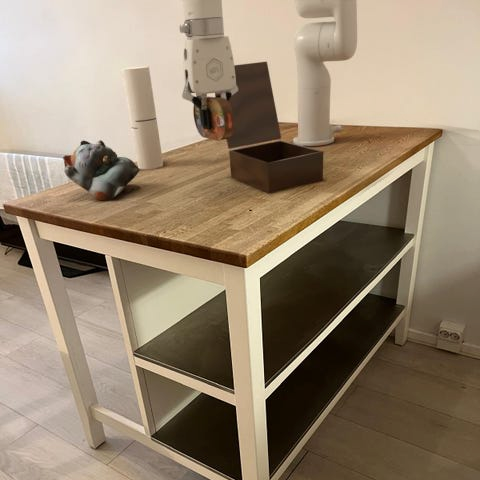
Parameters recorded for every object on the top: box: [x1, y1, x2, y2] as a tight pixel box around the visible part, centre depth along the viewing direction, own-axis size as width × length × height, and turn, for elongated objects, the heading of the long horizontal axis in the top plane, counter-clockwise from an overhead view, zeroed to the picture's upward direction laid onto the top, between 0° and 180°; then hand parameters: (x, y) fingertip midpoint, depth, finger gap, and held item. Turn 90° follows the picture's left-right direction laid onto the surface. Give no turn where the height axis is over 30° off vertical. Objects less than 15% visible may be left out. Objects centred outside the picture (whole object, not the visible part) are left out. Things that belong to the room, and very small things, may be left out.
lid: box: [225, 61, 282, 150], centre depth 119 cm, size 18×15×1 cm
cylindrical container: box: [120, 65, 164, 170], centre depth 132 cm, size 7×7×25 cm
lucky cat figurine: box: [62, 139, 141, 202], centre depth 115 cm, size 15×12×14 cm
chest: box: [228, 139, 325, 194], centre depth 117 cm, size 18×15×7 cm
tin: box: [192, 96, 234, 142], centre depth 105 cm, size 15×3×8 cm, turn 29°
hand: (213, 126), depth 106 cm, fingers closed on tin, 2 cm apart
